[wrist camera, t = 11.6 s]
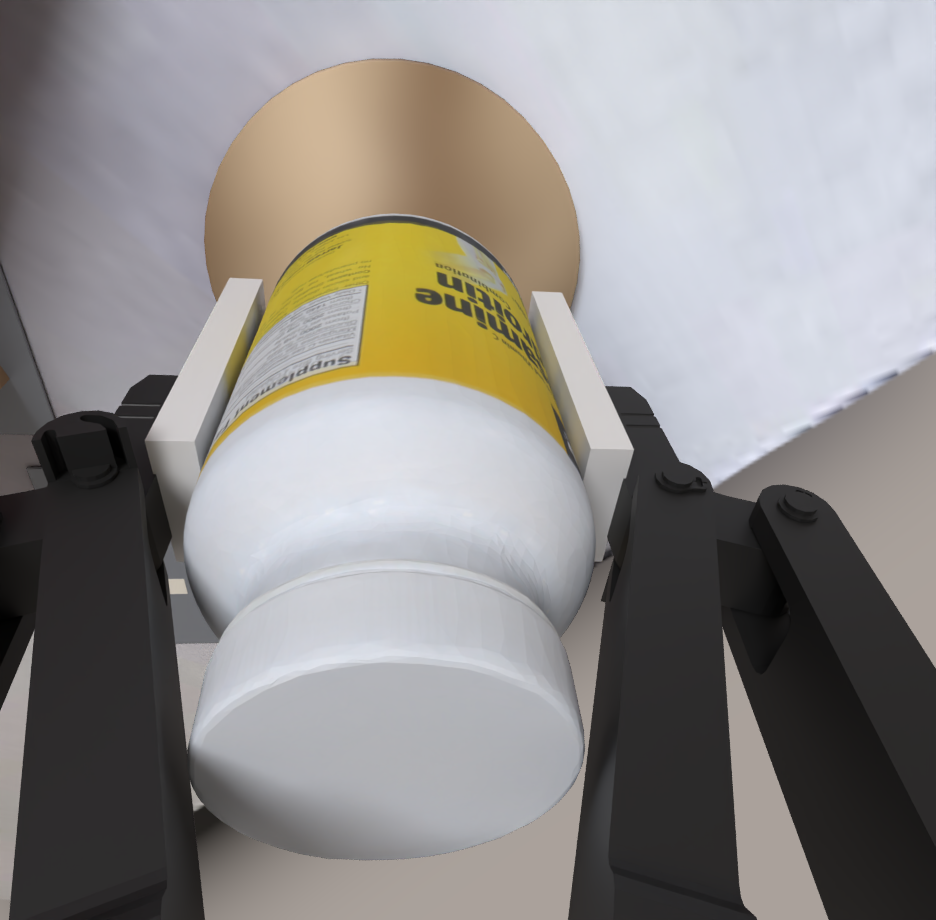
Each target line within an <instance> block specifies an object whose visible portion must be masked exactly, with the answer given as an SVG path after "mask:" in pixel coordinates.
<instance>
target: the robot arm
mask: <svg viewBox="0 0 936 920" xmlns="http://www.w3.org/2000/svg"><path fill="white" fill-rule="evenodd" d="M265 310H266V304H265V295H264V286H263V279H245V278H229V280H228V282H227V284H226V286H225V288H224V290H223V292H222V293H221V295H220V297H219V299H218V301H217V303H216V305H215V307H214V309H213V311H212V313H211V315H210V316H209V318H208V320H207V322H206V324H205V326H204V328H203V330H202V332H201V334H200V336H199V337H198V339H197V341H196V343H195V345H194V347H193V349H192V351H191V353H190V355H189V357H188V358H187V360H186V362H185V364H184V366H183V368H182V370H181V372H180V374H179V376H173V375H148V376H147V377H146V378H144V379H143V380H141V381H140V382H138V383H137V384H135V385H134V386H132V387H131V388H130V390H129V391H128V393H127V395H126V396H125V398H124V399H123V401H122V406H119V407H118V409H117V411H116V412H115V414H113V413H109V412H103V411H80V412H76V413H72V414H67V415H63V416H61V417H59V418H56V419H54V420H52V421H50V422H47V423H46V424H45V425H44V426H42V427H41V428H40V429H39V430H37V431H36V433H35V435H34V437H33V439H32V444H33V446H34V449H35V451H36V454H37V457H38V459H39V462H40V464H41V467H42V469H43V472H44V475H45V477H46V480H47V482H48V485H47V487H44V488H40V489H36V490H31V491H26V492H21V493H15V494H10V495H4V496H0V710H1V708H2V705H3V703H4V700H5V698H6V696H7V693H8V691H9V689H10V686H11V684H12V681H13V679H14V677H15V674H16V672H17V670H18V667H19V665H20V662H21V660H22V658H23V655H24V653H25V651H26V648H27V646H28V643H29V641H30V639H31V636H32V634H33V632H34V629H35V632H34V643H33V654H32V666H31V677H30V688H29V700H28V711H27V722H26V733H25V745H24V756H23V767H22V779H21V790H20V801H19V813H18V824H17V835H16V847H15V858H14V869H13V881H12V892H11V903H10V916H9V920H205V917H204V909H203V908H204V907H203V898H202V889H201V880H200V870H199V860H198V851H197V842H196V832H195V823H194V814H193V804H192V795H191V786H190V778H189V773H188V764H187V748H186V739H185V729H184V720H183V711H182V701H181V692H180V683H179V673H178V664H177V655H176V645H175V636H174V627H173V617H172V608H171V598H170V589H169V580H168V574H167V570H166V567H165V563H164V560H163V559H164V557H165V554H166V551H167V549H168V546H169V544H170V541H171V543H172V547H173V551H174V555H175V558H176V562H185V561H184V551H183V543H184V528H185V521H186V516H187V512H188V508H189V504H190V501H191V497H192V493H193V491H194V488H195V485H196V483H197V480H198V477H199V475H200V472H201V469H202V467H203V464H204V462H205V459H206V457H207V454H208V452H209V450H210V447H211V445H212V442H213V440H214V437H215V435H216V432H217V430H218V427H219V425H220V423H221V420H222V418H223V415H224V413H225V410H226V408H227V405H228V403H229V400H230V398H231V395H232V393H233V390H234V388H235V385H236V383H237V380H238V378H239V375H240V373H241V370H242V368H243V365H244V362H245V360H246V357H247V355H248V353H249V350H250V348H251V345H252V343H253V341H254V338H255V336H256V333H257V331H258V328H259V326H260V323H261V321H262V318H263V315H264V313H265ZM528 319H529V322H530V326H531V328H532V331H533V334H534V337H535V340H536V343H537V347H538V350H539V353H540V356H541V359H542V362H543V365H544V368H545V371H546V374H547V377H548V380H549V383H550V386H551V389H552V392H553V395H554V398H555V401H556V404H557V407H558V410H559V412H560V415H561V418H562V421H563V424H564V427H565V430H566V434H567V436H568V439H569V442H570V445H571V448H572V450H573V453H574V456H575V459H576V462H577V465H578V467H579V470H580V473H581V476H582V479H583V482H584V485H585V489H586V492H587V495H588V498H589V502H590V505H591V509H592V512H593V519H594V526H595V536H596V550H595V561H602V560H603V556H604V553H605V549H606V546H607V542H608V541H609V544H610V547H611V549H612V552H613V555H614V559H613V563H612V566H611V569H610V572H609V576H608V579H607V583H606V586H605V589H604V592H603V596H602V599H601V601H603V602H606V603H605V613H604V620H603V629H602V637H601V645H600V654H599V663H598V671H597V680H596V688H595V696H594V705H593V713H592V722H591V730H590V739H589V747H588V756H587V764H586V772H585V781H584V789H583V798H582V807H581V815H580V823H579V832H578V840H577V849H576V857H575V866H574V874H573V883H572V892H571V899H570V908H569V917H568V920H757V918H756V917H755V916H754V915H753V914H752V913H751V912H750V911H749V910H748V909H747V908H745V906H744V904H743V901H742V899H741V895H740V887H739V876H738V861H737V847H736V830H735V815H734V800H733V786H732V785H733V784H732V770H731V756H730V739H729V723H728V708H727V693H726V677H725V662H724V648H723V647H724V646H723V631H722V627H723V630H724V632H725V635H726V638H727V641H728V643H729V646H730V649H731V652H732V654H733V657H734V660H735V663H736V665H737V668H738V671H739V674H740V676H741V679H742V682H743V685H744V688H745V690H746V693H747V696H748V699H749V701H750V704H751V707H752V710H753V712H754V715H755V718H756V721H757V723H758V726H759V729H760V732H761V734H762V737H763V740H764V743H765V745H766V748H767V751H768V754H769V756H770V759H771V762H772V765H773V767H774V770H775V773H776V776H777V778H778V781H779V784H780V787H781V789H782V792H783V795H784V798H785V801H786V803H787V806H788V809H789V812H790V814H791V817H792V820H793V823H794V825H795V828H796V831H797V834H798V836H799V839H800V842H801V844H802V847H803V850H804V853H805V855H806V858H807V861H808V864H809V867H810V869H811V872H812V875H813V878H814V880H815V883H816V886H817V889H818V891H819V894H820V897H821V900H822V902H823V905H824V908H825V910H826V913H827V916H828V919H829V920H936V668H935V667H934V665H933V664H932V662H931V661H930V659H929V657H928V656H927V654H926V653H925V651H924V650H923V648H922V646H921V645H920V643H919V642H918V640H917V639H916V637H915V636H914V634H913V633H912V631H911V629H910V628H909V626H908V625H907V623H906V621H905V620H904V618H903V617H902V615H901V614H900V612H899V611H898V609H897V608H896V606H895V604H894V603H893V601H892V600H891V598H890V596H889V595H888V593H887V592H886V590H885V589H884V587H883V586H882V584H881V582H880V581H879V579H878V578H877V576H876V575H875V573H874V572H873V570H872V569H871V567H870V565H869V564H868V562H867V561H866V559H865V558H864V556H863V554H862V553H861V551H860V550H859V548H858V547H857V545H856V543H855V542H854V540H853V539H852V537H851V536H850V534H849V532H848V531H847V529H846V528H845V526H844V525H843V523H842V522H841V520H840V518H839V517H838V515H837V514H836V512H835V511H834V510H833V509H832V508H831V506H830V505H829V504H828V503H827V502H826V501H824V500H823V499H821V498H820V497H818V496H817V495H815V494H814V493H812V492H809V491H808V490H804V489H802V488H799V487H794V486H789V485H772V486H769V487H767V488H765V489H763V490H762V492H761V494H760V496H759V498H758V500H757V502H756V503H755V502H751V501H746V500H742V499H738V498H733V497H729V496H725V495H721V494H718V493H715V492H713V488H712V485H711V482H710V480H709V479H708V478H707V477H706V476H705V475H704V474H703V473H702V472H700V471H699V470H697V469H695V468H693V467H692V466H690V465H687V464H684V463H681V462H679V460H678V458H677V456H676V454H675V452H674V450H673V449H672V447H671V445H670V443H669V441H668V439H667V437H666V436H665V434H664V432H663V430H662V428H660V424H659V423H658V421H657V419H656V417H654V413H653V411H652V410H651V408H650V406H649V404H648V402H647V400H646V399H645V398H643V397H642V396H641V395H640V394H639V393H637V392H636V391H635V390H634V389H632V388H631V387H614V386H605V385H604V383H603V381H602V379H601V377H600V374H599V372H598V370H597V368H596V366H595V364H594V361H593V359H592V357H591V355H590V353H589V351H588V348H587V346H586V344H585V342H584V340H583V337H582V335H581V333H580V331H579V329H578V327H577V324H576V322H575V320H574V318H573V316H572V314H571V311H570V309H569V307H568V305H567V303H566V300H565V298H564V296H563V294H562V293H560V292H538V291H532V294H531V301H530V308H529V315H528Z"/></svg>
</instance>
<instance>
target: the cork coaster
mask: <svg viewBox="0 0 936 920" xmlns="http://www.w3.org/2000/svg"><path fill="white" fill-rule="evenodd" d="M379 214H408V215H416V216H422V217H426V218H430V219H434V220H437V221H440V222H443V223H446V224H448V225H451V226H453V227H455V228H457V229H459V230H461V231H462V232H464V233H466V234H468V235H469V236H471V237H472V238H474V239H475V240H477V241H478V242H479V243H480V244H482V245H483V246H484V247H485V248H486V249H487V250H489V251H490V252H491V253H492V254H493V255H494V256H495V257H496V259H497V260H498V261H499V262H500V263H501V264H502V266H503V267H504V268H505V270H506V271H507V273H508V274H509V276H510V277H511V279H512V280H513V282H514V284H515V286H516V288H517V290H518V292H519V294H520V297H521V299H522V302H523V305H524V307H525V310H526V313H527V316H528V315H529V308H530V301H531V294H532V291H538V292H560V293H562V294H563V296H564V298H565V300H566V303H567V305H568V307H569V309H570V307H571V304H572V300H573V296H574V292H575V288H576V284H577V278H578V270H579V261H580V246H579V230H578V224H577V217H576V211H575V208H574V204H573V201H572V197H571V194H570V191H569V188H568V185H567V183H566V181H565V179H564V176H563V174H562V172H561V170H560V167H559V165H558V163H557V162H556V160H555V159H554V157H553V155H552V154H551V152H550V151H549V149H548V147H547V146H546V144H545V143H544V141H543V140H542V139H541V137H540V136H539V135H538V134H537V132H536V131H535V130H534V129H533V128H532V126H531V125H530V124H529V123H528V122H527V121H526V119H525V118H524V117H523V116H522V115H521V114H520V113H518V112H517V111H516V110H515V109H514V108H513V107H512V106H511V105H510V104H509V103H507V102H506V101H505V100H504V99H503V98H501V97H500V96H498V95H497V94H495V93H494V92H492V91H491V90H489V89H488V88H486V87H485V86H483V85H482V84H480V83H478V82H476V81H474V80H472V79H470V78H468V77H466V76H464V75H462V74H459V73H457V72H455V71H452V70H449V69H445V68H442V67H439V66H436V65H433V64H429V63H424V62H417V61H411V60H405V59H368V60H361V61H354V62H347V63H343V64H339V65H336V66H333V67H330V68H327V69H323V70H320V71H317V72H315V73H313V74H311V75H309V76H307V77H305V78H303V79H301V80H299V81H297V82H295V83H293V84H292V85H290V86H289V87H287V88H286V89H284V90H283V91H282V92H280V93H279V94H277V95H276V96H274V97H273V98H272V99H270V100H269V101H268V102H267V103H266V104H265V105H264V106H263V107H262V108H261V109H260V110H259V111H258V112H257V113H256V114H255V115H254V116H253V117H252V118H251V119H250V120H249V121H248V123H247V124H246V125H245V126H244V128H243V129H242V130H241V132H240V133H239V134H238V136H237V137H236V138H235V140H234V141H233V142H232V144H231V146H230V147H229V149H228V151H227V153H226V155H225V157H224V159H223V160H222V162H221V164H220V166H219V168H218V171H217V174H216V177H215V180H214V183H213V185H212V188H211V191H210V196H209V201H208V206H207V211H206V216H205V237H204V243H205V254H206V265H207V270H208V274H209V278H210V283H211V287H212V291H213V293H214V296H215V299H216V301H218V299H219V297H220V295H221V293H222V292H223V290H224V288H225V286H226V284H227V282H228V280H229V278H245V279H263V286H264V295H265V304H266V308H267V305H268V302H269V300H270V298H271V295H272V293H273V291H274V289H275V287H276V284H277V282H278V280H279V279H280V277H281V275H282V274H283V272H284V271H285V269H286V268H287V266H288V265H289V264H290V262H291V261H292V260H293V259H294V258H295V257H296V255H297V254H298V253H299V252H300V251H301V250H302V249H304V248H305V247H306V246H307V245H308V244H309V243H311V242H312V241H313V240H315V239H316V238H317V237H319V236H320V235H322V234H323V233H325V232H327V231H328V230H330V229H332V228H334V227H336V226H339V225H341V224H343V223H346V222H349V221H352V220H355V219H358V218H362V217H367V216H373V215H379Z"/></svg>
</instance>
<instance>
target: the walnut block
mask: <svg viewBox="0 0 936 920" xmlns="http://www.w3.org/2000/svg"><path fill="white" fill-rule="evenodd" d="M9 379H10V378H9V377H8V376H7V374H6V373H5V371H4V370H3V368H2V367H1V366H0V389H1V388H2V387H3V386H4V385H5V384H6V383H7V381H8V380H9Z"/></svg>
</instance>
